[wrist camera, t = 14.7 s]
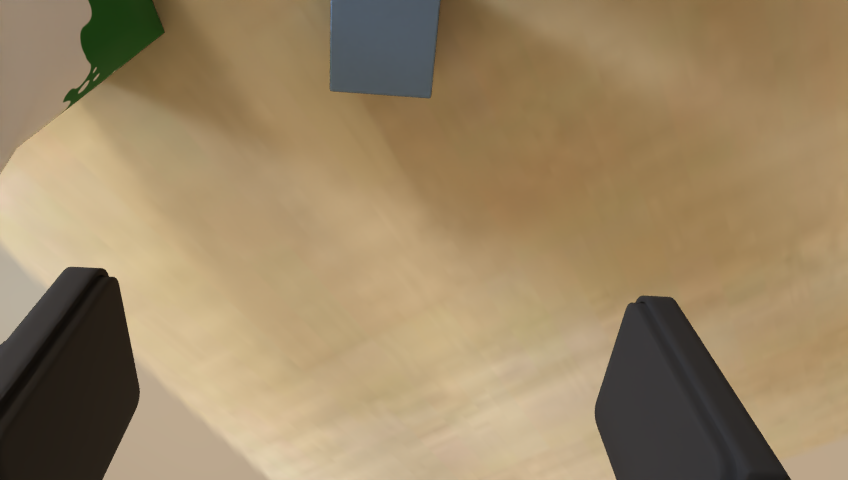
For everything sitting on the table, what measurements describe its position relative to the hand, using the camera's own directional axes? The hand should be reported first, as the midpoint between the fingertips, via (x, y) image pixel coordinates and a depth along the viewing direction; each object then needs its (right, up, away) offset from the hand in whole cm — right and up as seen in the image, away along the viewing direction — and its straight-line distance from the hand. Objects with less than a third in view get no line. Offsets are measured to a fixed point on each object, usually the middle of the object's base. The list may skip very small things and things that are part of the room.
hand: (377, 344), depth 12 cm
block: (-1, +14, +22) cm, 26 cm away
